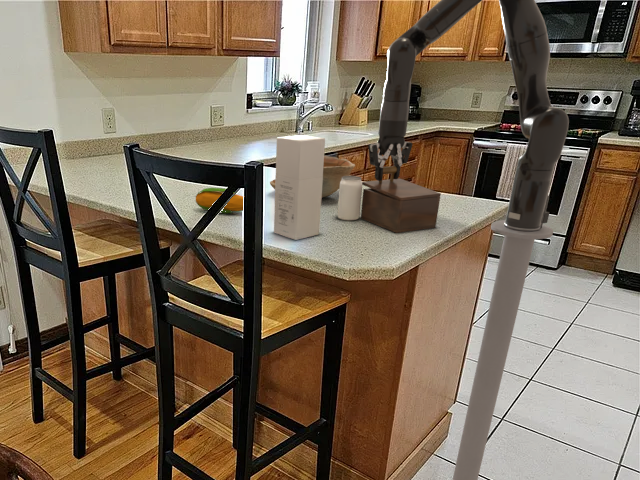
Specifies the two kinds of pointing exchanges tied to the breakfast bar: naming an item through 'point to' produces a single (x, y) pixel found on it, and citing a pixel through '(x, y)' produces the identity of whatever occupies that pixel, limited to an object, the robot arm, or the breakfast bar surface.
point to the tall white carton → (298, 186)
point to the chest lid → (399, 187)
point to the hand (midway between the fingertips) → (386, 179)
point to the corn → (212, 194)
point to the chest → (399, 211)
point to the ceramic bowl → (332, 174)
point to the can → (349, 198)
